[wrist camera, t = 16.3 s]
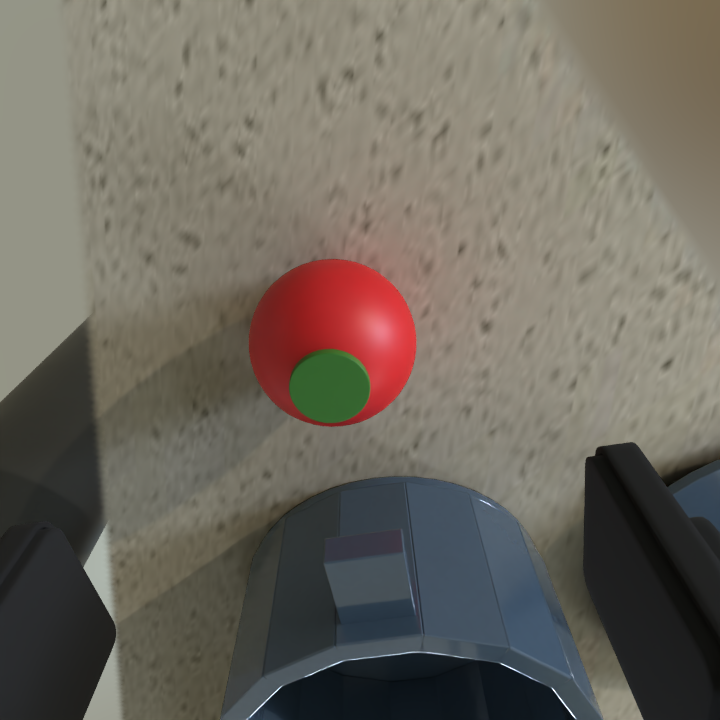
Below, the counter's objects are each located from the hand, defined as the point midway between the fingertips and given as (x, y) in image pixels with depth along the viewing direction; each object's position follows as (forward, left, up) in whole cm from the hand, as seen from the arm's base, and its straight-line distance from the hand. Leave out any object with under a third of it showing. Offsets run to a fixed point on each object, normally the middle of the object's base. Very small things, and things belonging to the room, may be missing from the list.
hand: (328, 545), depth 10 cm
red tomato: (0, 0, -11) cm, 11 cm away
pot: (-8, -12, -11) cm, 18 cm away
